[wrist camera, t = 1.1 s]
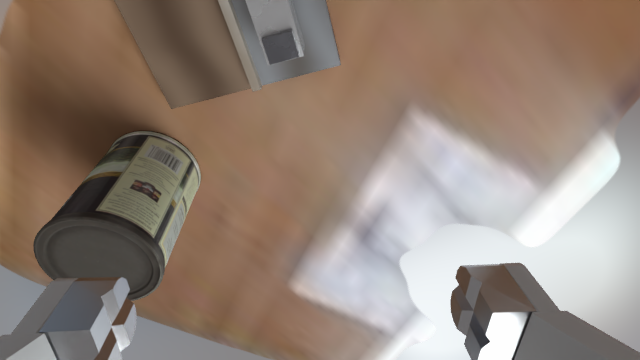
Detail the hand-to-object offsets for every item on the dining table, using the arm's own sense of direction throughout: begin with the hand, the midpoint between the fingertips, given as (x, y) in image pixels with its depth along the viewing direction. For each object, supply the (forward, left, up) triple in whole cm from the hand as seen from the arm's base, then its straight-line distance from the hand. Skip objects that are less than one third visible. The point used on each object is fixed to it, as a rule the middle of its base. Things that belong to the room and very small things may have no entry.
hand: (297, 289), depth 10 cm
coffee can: (+22, +12, -31) cm, 39 cm away
